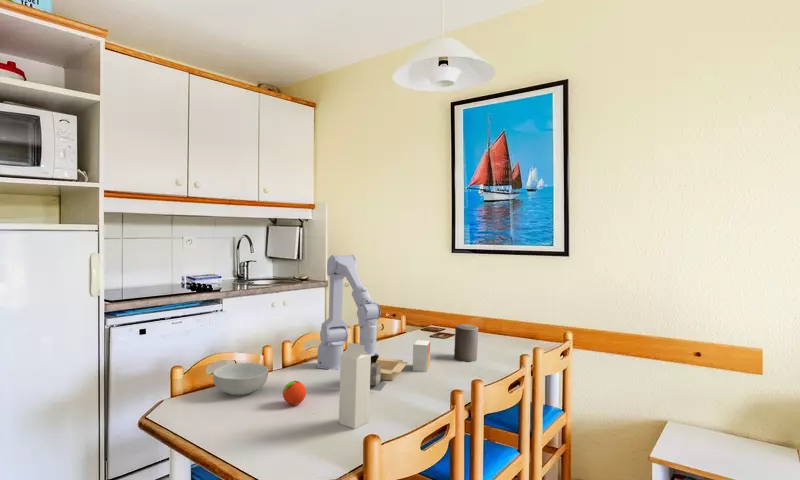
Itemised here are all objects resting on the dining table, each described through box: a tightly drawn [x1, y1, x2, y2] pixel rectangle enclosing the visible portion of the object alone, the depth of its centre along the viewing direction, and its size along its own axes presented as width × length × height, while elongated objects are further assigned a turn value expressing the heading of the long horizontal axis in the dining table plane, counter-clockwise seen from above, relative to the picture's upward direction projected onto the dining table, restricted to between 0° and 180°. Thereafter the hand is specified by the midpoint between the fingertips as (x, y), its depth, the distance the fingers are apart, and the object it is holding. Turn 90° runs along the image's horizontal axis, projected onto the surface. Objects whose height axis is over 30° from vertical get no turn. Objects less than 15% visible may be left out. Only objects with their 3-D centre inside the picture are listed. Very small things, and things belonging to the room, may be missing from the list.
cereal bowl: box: [212, 362, 269, 397], centre depth 152 cm, size 17×17×7 cm
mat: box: [370, 381, 387, 392], centre depth 161 cm, size 12×8×1 cm, turn 76°
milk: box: [338, 342, 371, 430], centre depth 130 cm, size 6×6×22 cm
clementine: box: [282, 380, 307, 406], centre depth 142 cm, size 8×7×7 cm
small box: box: [412, 339, 431, 373], centre depth 182 cm, size 8×6×10 cm
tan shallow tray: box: [376, 357, 408, 381], centre depth 174 cm, size 17×18×4 cm
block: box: [370, 363, 381, 385], centre depth 161 cm, size 8×5×6 cm, turn 76°
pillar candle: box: [453, 323, 479, 363], centre depth 199 cm, size 10×10×15 cm
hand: (366, 378), depth 161 cm, fingers closed on block, 5 cm apart
